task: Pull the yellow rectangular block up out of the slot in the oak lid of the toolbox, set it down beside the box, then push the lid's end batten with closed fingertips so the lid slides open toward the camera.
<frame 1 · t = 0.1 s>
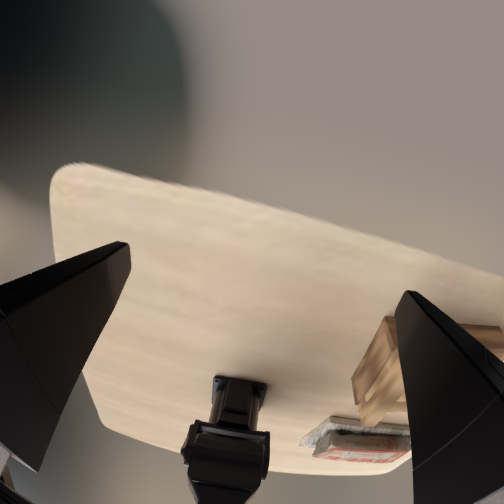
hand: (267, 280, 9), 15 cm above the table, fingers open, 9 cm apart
packaged product: (359, 432, 41), on the table
lid: (429, 390, 25), point 6 cm above the table, slide at 0.0 cm
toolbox: (431, 354, 30), on the table
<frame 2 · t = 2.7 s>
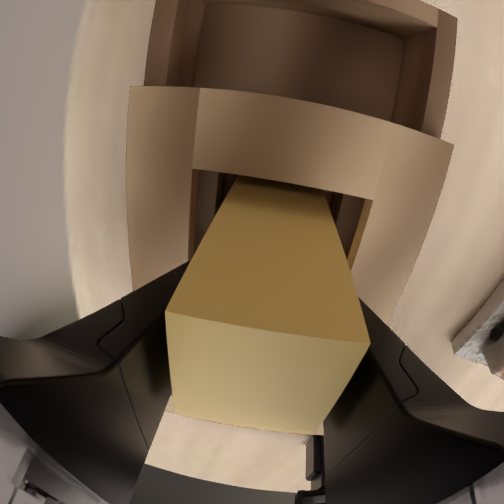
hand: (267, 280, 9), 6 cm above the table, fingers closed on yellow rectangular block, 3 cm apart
lid: (262, 304, 10), point 6 cm above the table, slide at 0.0 cm
yellow rectangular block: (274, 214, 14), point 1 cm above the table, touching gripper, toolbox
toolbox: (278, 188, 14), on the table
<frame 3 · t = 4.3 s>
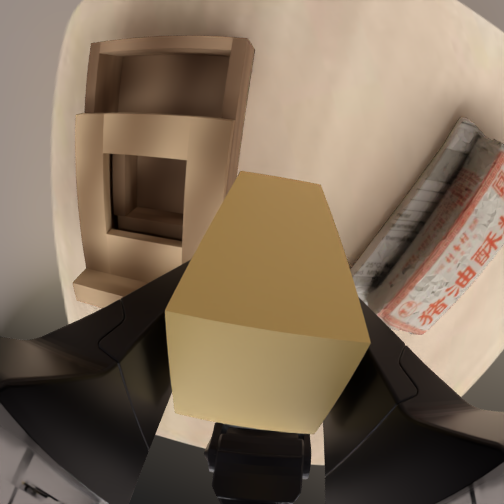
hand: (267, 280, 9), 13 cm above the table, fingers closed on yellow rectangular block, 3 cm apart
packaged product: (436, 232, 22), on the table
lid: (137, 223, 17), point 6 cm above the table, slide at 0.0 cm
yellow rectangular block: (274, 214, 14), point 8 cm above the table, touching gripper
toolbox: (170, 165, 21), on the table
when the fingers open (6 cm above the table, at t = 6.1 s): yellow rectangular block drops 1 cm, on the table.
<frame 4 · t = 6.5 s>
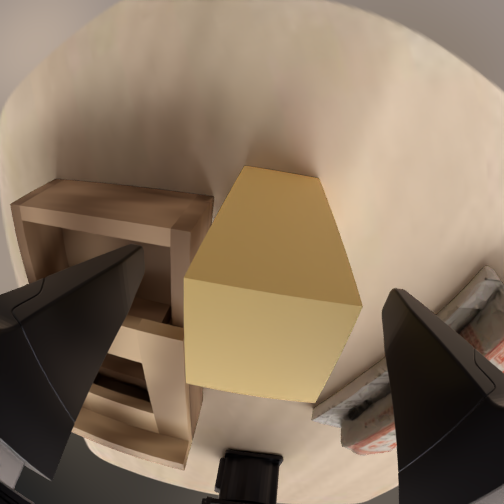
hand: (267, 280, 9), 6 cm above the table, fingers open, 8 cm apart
packaged product: (425, 365, 20), on the table
lid: (107, 397, 15), point 6 cm above the table, slide at 0.0 cm
yellow rectangular block: (276, 206, 14), on the table
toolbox: (133, 314, 19), on the table
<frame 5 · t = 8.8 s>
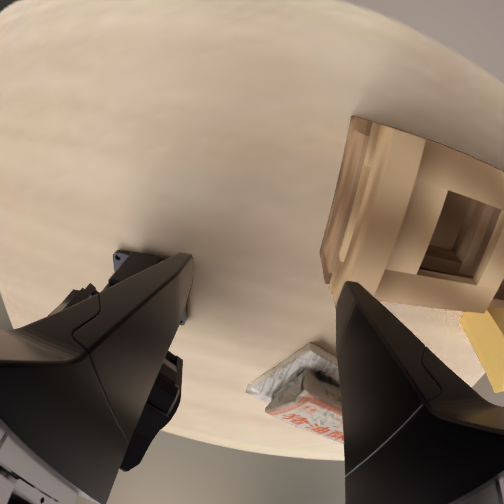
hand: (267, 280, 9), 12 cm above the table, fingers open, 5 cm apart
packaged product: (334, 392, 31), on the table
lid: (455, 243, 14), point 6 cm above the table, slide at 0.0 cm
yellow rectangular block: (478, 308, 23), on the table
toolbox: (444, 214, 19), on the table
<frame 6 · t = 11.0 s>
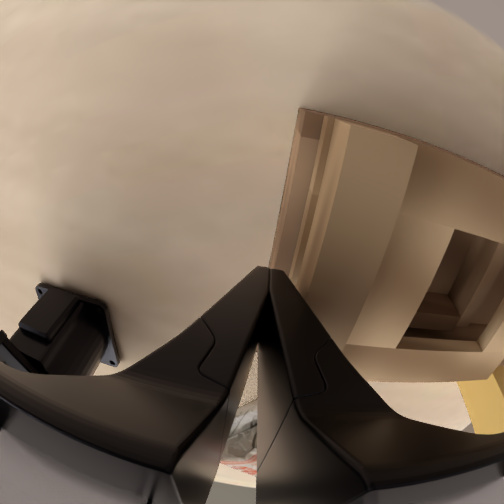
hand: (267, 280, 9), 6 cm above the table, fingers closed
packaged product: (296, 439, 26), on the table
lid: (458, 309, 9), point 6 cm above the table, slide at 0.4 cm, touching gripper
yellow rectangular block: (477, 355, 18), on the table
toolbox: (441, 247, 14), on the table
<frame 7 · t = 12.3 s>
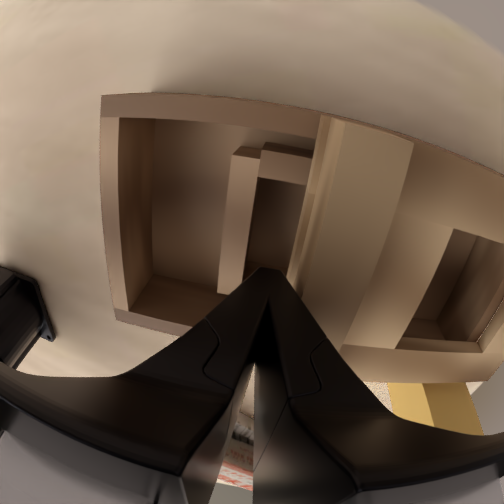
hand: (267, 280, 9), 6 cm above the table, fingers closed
packaged product: (228, 431, 26), on the table
lid: (458, 310, 9), point 6 cm above the table, slide at 7.1 cm, touching gripper
yellow rectangular block: (415, 354, 18), on the table
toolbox: (325, 222, 14), on the table
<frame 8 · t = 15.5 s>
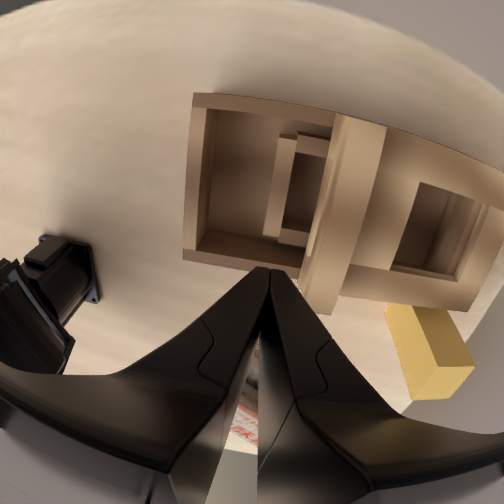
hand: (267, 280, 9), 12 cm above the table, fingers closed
packaged product: (245, 387, 32), on the table
lid: (429, 238, 14), point 6 cm above the table, slide at 7.0 cm
yellow rectangular block: (408, 300, 23), on the table
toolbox: (336, 188, 19), on the table
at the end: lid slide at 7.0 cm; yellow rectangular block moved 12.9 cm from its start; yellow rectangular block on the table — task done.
